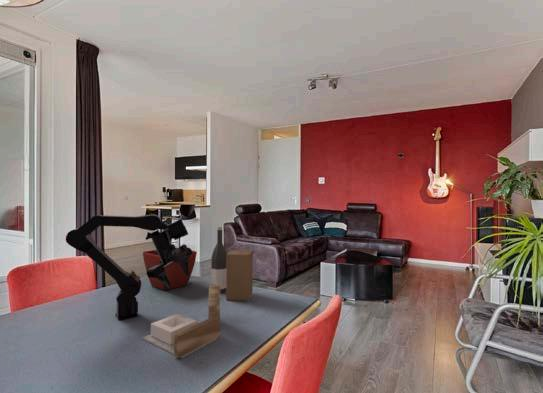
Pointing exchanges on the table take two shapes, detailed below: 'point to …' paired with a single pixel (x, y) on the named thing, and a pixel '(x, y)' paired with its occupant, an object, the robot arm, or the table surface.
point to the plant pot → (169, 270)
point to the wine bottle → (219, 263)
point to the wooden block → (239, 275)
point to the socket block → (170, 327)
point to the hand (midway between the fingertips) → (179, 281)
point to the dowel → (214, 301)
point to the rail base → (190, 338)
